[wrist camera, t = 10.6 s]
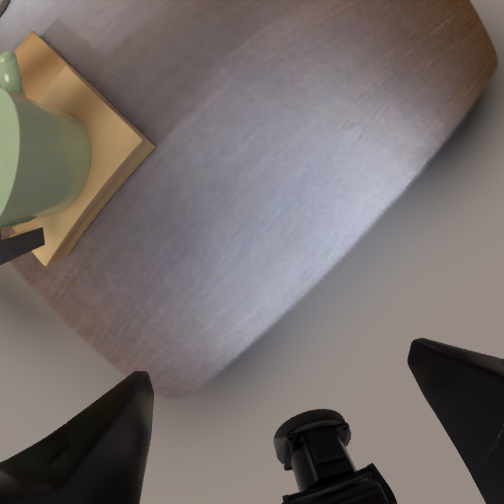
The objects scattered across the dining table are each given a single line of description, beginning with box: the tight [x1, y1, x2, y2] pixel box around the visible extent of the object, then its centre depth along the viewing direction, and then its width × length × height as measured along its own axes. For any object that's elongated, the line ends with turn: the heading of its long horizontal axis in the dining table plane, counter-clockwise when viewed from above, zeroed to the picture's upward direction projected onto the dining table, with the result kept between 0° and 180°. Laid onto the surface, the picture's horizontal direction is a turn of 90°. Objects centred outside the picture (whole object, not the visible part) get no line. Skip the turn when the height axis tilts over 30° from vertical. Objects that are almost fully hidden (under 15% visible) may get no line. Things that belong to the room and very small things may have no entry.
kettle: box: [0, 50, 91, 265], centre depth 10 cm, size 10×6×8 cm, turn 1°
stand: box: [0, 31, 155, 267], centre depth 14 cm, size 16×10×4 cm, turn 44°
